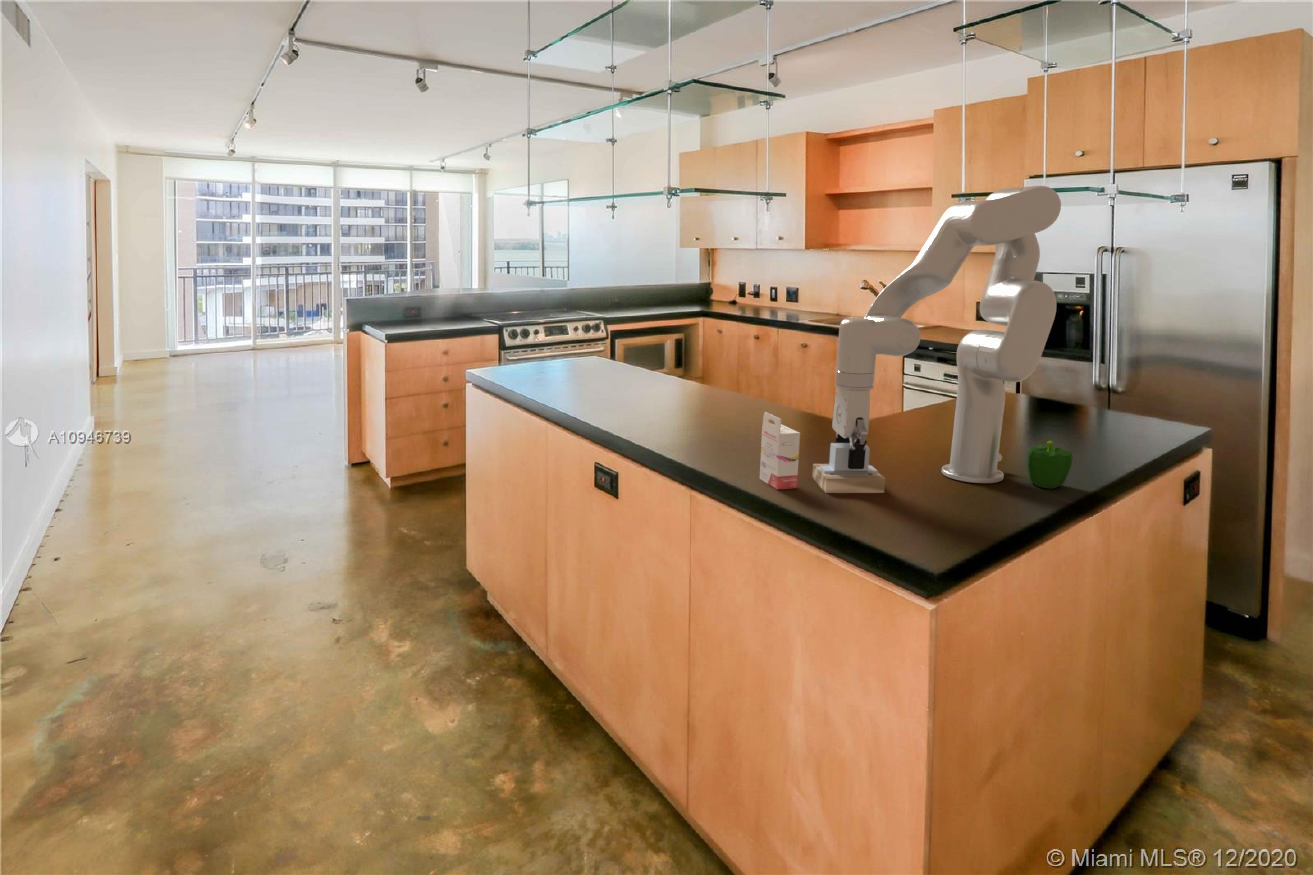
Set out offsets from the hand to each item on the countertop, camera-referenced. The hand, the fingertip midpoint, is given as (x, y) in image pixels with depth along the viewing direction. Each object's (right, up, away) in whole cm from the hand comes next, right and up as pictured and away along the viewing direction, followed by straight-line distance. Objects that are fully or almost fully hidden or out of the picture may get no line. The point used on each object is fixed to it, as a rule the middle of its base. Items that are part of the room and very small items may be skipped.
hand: (848, 462), depth 162 cm
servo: (0, -5, +1) cm, 5 cm away
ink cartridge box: (-14, -5, +2) cm, 15 cm away
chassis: (0, -5, +1) cm, 5 cm away
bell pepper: (+42, -5, +3) cm, 42 cm away
